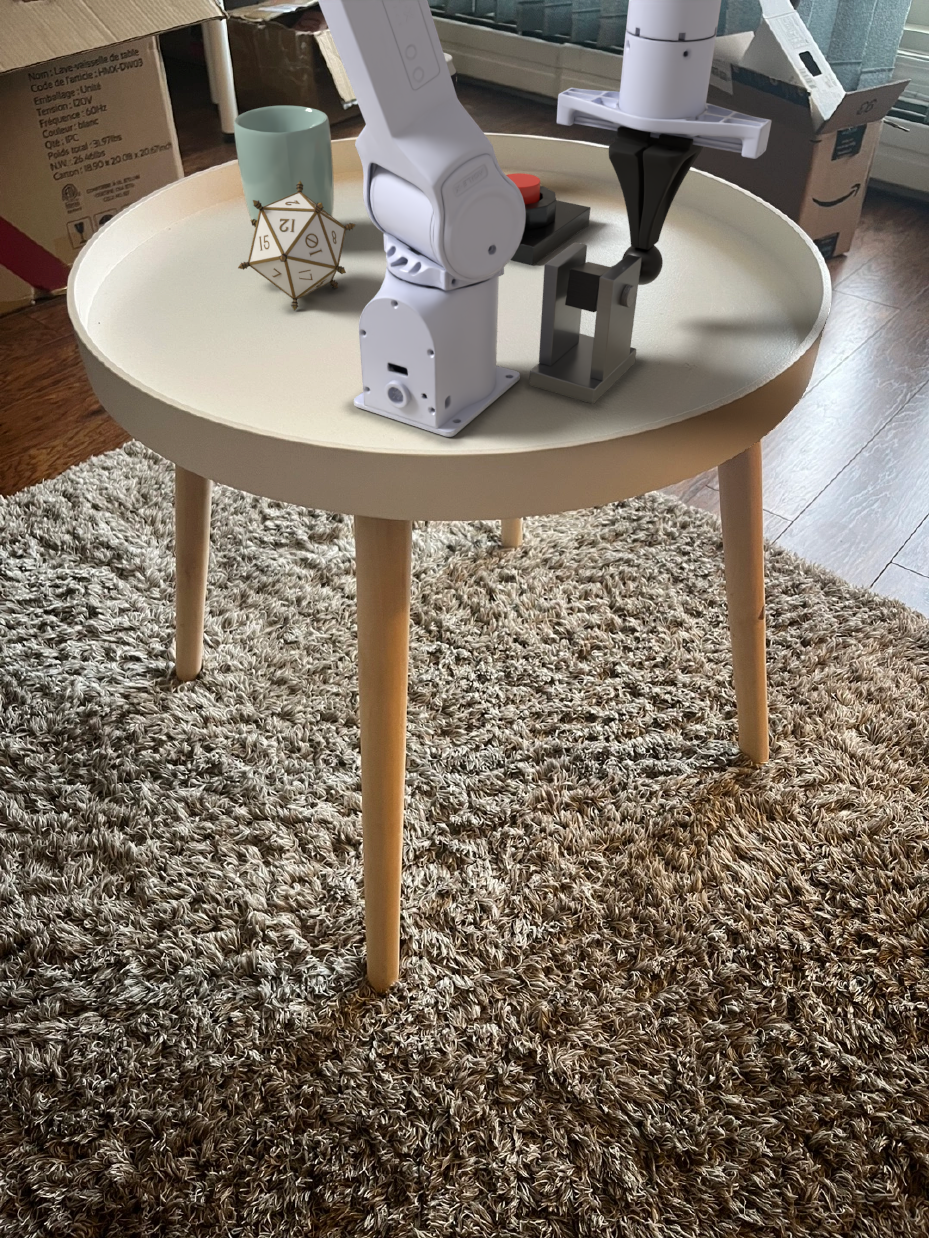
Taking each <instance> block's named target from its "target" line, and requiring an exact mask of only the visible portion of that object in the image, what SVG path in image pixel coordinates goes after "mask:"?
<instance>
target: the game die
mask: <svg viewBox="0 0 929 1238" xmlns="http://www.w3.org/2000/svg"><path fill="white" fill-rule="evenodd" d="M296 186H297V188H296V189H297V193H294V194H292V195H290V196H287V197H285V198H282V199H280V200H278V201H275V202H273V203H271V204H268V205H266V206H262V205H261V203H260V202H259V201H256V200H253V203H254V206H255V207H256V208H257V209H259V214H258V219H257V220H256V219H253V220H251V219H250V223H251V226H252V227H254V233H253V237H252V241H251V246H250V250H249V255H248V259H247V261H243V262H240V264H239V266H238V267H237V269H240V270H243V271H244V270H245V269H248V268H249V267H250V268H251V269H253V270H254V271H255V272H257V273H258V274H259V275H260V276H262V277H263V278H264V279H266V280H267V281H269V282H270V283H271V284H272V285H273V286H275V287H277V288H278V289H279V290H280V291H281V292H282V293H284V294H286V295H287V296H288V297H289V298H291V299H292V301H291V305H290V306H291V307H292V309H293V311H294V312H295V311H296V310H297V308H299V302H298V300H299V299H301V298H303V297H305V296H307V295H309V294H310V293H312V292H314V291H317V290H318V289H320V288H322V287H324V286H327V285H328V284H329V285H330V286H331V288H332V289H333V288H335V289H339V286H338V284H339V283H338V282H337V281H336V280H335V279H334V278H335V276H336V273H339V274H341V275H343V274H347V272H346V270H345V267H344V266H342V265H340V261H341V256H342V252H343V247H344V241H345V236H346V232H347V231H349V232H350V231H351V230H352V231H353V230H354V228H355V226H356V224H355V223H352V222H349V223H346V225H344V224H342V223H341V222H340V221H338V220H337V219H336V218H335V217H333V216H331V215H330V214H328V213H327V212H326V211H325V210H323V208H324V207H323V205H322V203H317V204H316V203H315V202H313V201H312V200H311V199H310V198H308V197H307V196H306V195H304V194H303V193H302V190H303V184H302V183H301V181H299V183H298V184H297V185H296ZM255 227H256V228H255Z"/></svg>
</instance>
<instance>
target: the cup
mask: <svg viewBox="0 0 929 1238" xmlns="http://www.w3.org/2000/svg"><path fill="white" fill-rule="evenodd" d="M233 133H234V142H235V143H234V144H235V149H236V156H237V163H238V171H239V177H240V183H241V188H242V194H243V197H244V202H245V206H246V210H247V213H248V216H249V218H250V220H253V219H256V220H257V219H258V214H259V209H257V208H256V207H255V206H254V203H253V200H256V201H259V202H260V203H261V205H262V206H266V205H268V204H271V203H273V202H275V201H278V200H280V199H282V198H285V197H287V196H290V195H292V194H294V193H297V189H296V188H297V186H296V185H297V184H298V183H299V181H301V183H302V184H303V190H302V193H303V194H304V195H306V196H307V197H308V198H310V199H311V200H312V201H313V202H315V203H316V204H317V203H322V205H323V207H324V208H323V210H325V211H326V212H327V213H328V214H330V215H331V216H332V217H333V215H334V209H335V208H334V205H335V175H334V160H333V146H332V145H333V144H332V136H331V135H332V133H331V126H330V120H329V117H328V115H327V114H326V113H325V112H323V111H322V110H319V109H315V108H312V107H307V106H300V105H272V106H271V105H270V106H263V107H259V108H254V109H251V110H248V111H246V112H243V113H241V114H239V115H238V116H237V117H236V118H235V119H234V122H233ZM255 228H256V227H254V229H255Z"/></svg>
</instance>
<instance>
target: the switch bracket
mask: <svg viewBox="0 0 929 1238" xmlns="http://www.w3.org/2000/svg"><path fill="white" fill-rule="evenodd" d="M587 251H588V244H585V243H579V242H577V241H576V242H572V243H571V244H570V245H568V246H567V247H565V248H564V249H563V250H562V251H560V252H559V253H557V254H556V255H555V256H553V257H552V258H550V259H549V260H548V261H547V262H545V263H544V267H543V283H542V284H543V285H542V301H541V315H540V316H541V317H540V319H541V320H540V335H539V350H538V351H539V353H538V363H537V364H536V365H535V366H534V367H533V368H532V369H531V370H529V384H528V385H529V386H531V387H534V388H538V389H540V390H545V391H548V392H551V393H555V394H558V395H561V396H565V397H568V398H571V399H575V400H578V401H581V402H585V403H589V404H591V405H592V404H593V405H594V404H595V403H596V402H597V401H598V400H599V399H600V398H601V397H602V396H603V395H604V394H605V393H606V392H607V391H609V389H610V388H612V386H613V385H615V383H617V381H618V380H619V379H620V378H621V377H622V376H623V375H624V374H625V373H627V371H629V369H631V367H633V365H634V364H635V363H636V357H637V348H635V347H632V338H633V331H634V330H633V329H634V323H635V322H634V321H635V313H636V305H637V300H638V299H637V297H638V291H639V285H638V283H639V275H640V266H641V257H638V256H633V255H629V254H628V255H627V256H626V257H624V258H623V257H622V258H623V259H622V258H621V260H619V261H618V262H617V263H616V264H614V265H612V266H613V267H612V268H611V269H610V270H608V271H607V272H606V273H605V274H603V275H602V276H601V277H600V281H599V291H598V301H597V311H596V312H595V324H594V333H593V336H590V335H587V334H583V333H581V322H582V311H583V310H582V309H578V308H575V307H571V306H567V305H565V301H566V295H567V288H568V281H569V274H570V269H571V268H574V267H576V266H579V265H581V264H584V263H586V262H587V254H588V253H587Z"/></svg>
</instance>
